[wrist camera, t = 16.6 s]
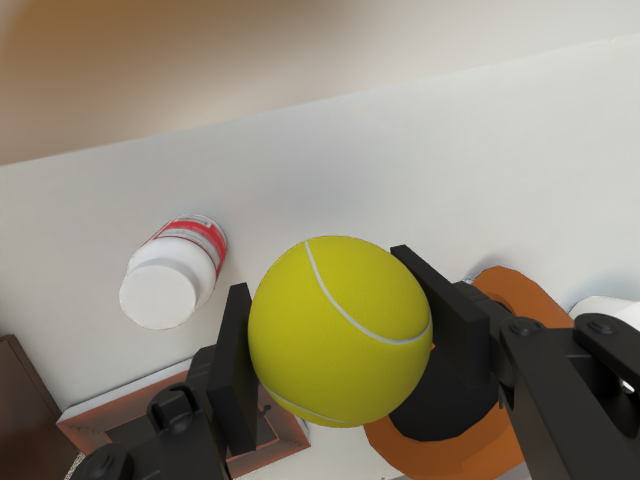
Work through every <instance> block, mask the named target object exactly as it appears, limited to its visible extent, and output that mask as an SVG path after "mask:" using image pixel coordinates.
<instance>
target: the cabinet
mask: <svg viewBox="0 0 640 480" xmlns="http://www.w3.org/2000/svg"><path fill="white" fill-rule="evenodd" d="M61 416H62V414H61V412H60V411H59V409H58V407H57V406H56V404H55V402H54V401H53V399H52V397H51V396H50V394H49V392H48V391H47V389H46V387H45V386H44V384H43V382H42V381H41V379H40V377H39V376H38V374H37V373H36V371H35V369H34V368H33V366H32V364H31V363H30V361H29V359H28V358H27V356H26V354H25V353H24V351H23V349H22V348H21V346H20V344H19V343H18V341H17V339H16V338H15V336H14V335H13V334H11V335H7V336H2V337H0V480H64V478H65V476H66V475H67V473H68V471H69V470H70V468H71V466H72V465H73V463H74V461H75V460H76V458H77V456H78V455H79V453H80V450H79V449H78V448H77V447H76V446H75V444H74V443H73V442H72V441H71V440H70V439H69V438H68V437H67V436H66V435H65V434H64V433H63V432H62V431H61V430H60V429H59V427H58V426H57V425H56V422H57V421H58V420H59V418H60V417H61Z"/></svg>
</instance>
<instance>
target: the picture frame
mask: <svg viewBox="0 0 640 480" xmlns="http://www.w3.org/2000/svg"><path fill="white" fill-rule="evenodd" d="M191 361H192V358H191V359H188V360H186V361H183V362H181V363H178V364H176V365H174V366H171V367H169V368H166V369H164V370H161V371H159V372H156V373H154V374H152V375H149V376H147V377H144V378H142V379H139V380H137V381H134V382H132V383H130V384H127V385H125V386H122V387H120V388H117V389H115V390H112V391H110V392H108V393H105V394H103V395H100V396H98V397H95V398H93V399H90V400H88V401H86V402H83V403H81V404H78V405H76V406H73V407H71V408H69V409H66V410H65V412H64V413H63V414H62V416H61V417H60V418H59V420H58V421H57V422H56V425H57V426H58V427H59V429H60V430H61V431H62V432H63V433H64V434H65V435H66V436H67V437H68V438H69V439H70V440H71V441H72V442H73V443H74V444H75V446H76V447H77V448H78V449H79V450H80V451H81V452H82V453H83V454H84V455H85V456H88V455H89V454H90V453H92V452H93V451H94V450H96V449H97V448H99V447H101V446H103V445H105V444H107V443H112V442H116V441H117V442H121V443H124V445H125V446H126V448H127V450H128V449H130V448H132V447H134V446H136V445H138V444H140V443H142V442H143V441H145V440H147V439H149V438H151V437H152V436H154V435H155V434H156V432H155V430H154V428H153V426H152V424H151V422H150V420H149V418H148V416H147V414H146V410H147V406H148V404H149V403H150V401H151V400H152V398H153V397H154V396H155V395H157V394H158V393H159V392H160V391H161V390H163V389H164V388H166V387H168V386H169V385H172V384H175V383H178V382H185V379H186V376H187V373H188V371H189V367H190V364H191ZM308 447H311V442H310V435H309V432H308V430H307V428H306V426H305V424H304V422H303V421H302V419H301V418H299V417H297V416H295V415H294V414H292V413H291V412H289V411H287V410H286V409H285V408H283V407H282V406H281V405H279V404H278V403H277V402H276V401H275V400H274V399H273V398H272V397H271V396H270V394H269V393H268V392H267V391H266V389H265V388H264V387H263V385H262V383H261V382H260V380H259V386H258V413H257V441H256V451H252V452H249V453H245V454H242V455H238V456H235V457H232V455H231V453H230V450H229V448H228V446H227V454H226V462H227V464H228V466H229V469H230V472H231V475H232V479H235V478H237V477H239V476H242V475H244V474H246V473H249V472H251V471H254V470H256V469H258V468H261V467H263V466H266V465H268V464H270V463H273V462H275V461H277V460H280V459H282V458H285V457H287V456H289V455H292V454H294V453H296V452H299V451H301V450H304V449H306V448H308Z"/></svg>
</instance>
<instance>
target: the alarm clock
mask: <svg viewBox="0 0 640 480" xmlns="http://www.w3.org/2000/svg"><path fill="white" fill-rule="evenodd" d="M465 282H466V283H468V284H471V285H474V286H475V287H477V288H478V289H479V290H480V291H482V292H483V294H486V295H487V296H488V297H490V299H492V300H494V301H495V302H496V303H498V304H499V305H500V306H502V307H503V308H504V309H506V310H507V311H508V312H510V313H511V314H512V315H513V316H523V317H528V318H532V319H535V320H537V321H539V322H541V323H543V324H544V325H545V326H546V327H547V328H569V327H574V320H573V319H572V318H571V317H570V316H569V315H568V314H567V313H566V312H565V311H564V310H563V309H562V308H561V307H560V306H559V305H558V304H557V303H556V302H555V301H554V300H553V299H552V298H551V297H550V296H549V295H548V294H547V293H546V292H545V291H544V290H543V289H542V288H541V287H540V286H539V285H538V284H537V283H535V282H534V281H532V280H530V279H529V278H527V277H526V276H524V275H523V274H521V273H519V272H518V271H515V270H511V269H508V268H505V267H501V266H495V267H492V268H489V269H487V270H484V271H483V272H482V273H481V274H480V275H479V276H478V277H477V278H476V279H475V280H474V281H472V280H469V279H467V280H466V281H465ZM363 427H364V429H365V432H366V435H367V438H368V440H369V443H370V445H371V446H372V447H373V448H374V449H375V450H376V451H377V452H378V453H379V454H380V455H381V456H382V457H383V458H384V459H385V460H386V461H387V462H388V463H389V464H390V465H391V466H393V467H394V468H396V469H397V470H399V471H401V472H402V473H404V474H405V475H407V476H408V477H410V478H412V479H413V480H532V478H531V476H530V473H529V470H528V468H527V465H526V462H525V459H524V457H523V454H522V451H521V449H520V446H519V443H518V440H517V438H516V435H515V432H514V430H513V427H512V424H511V421H510V419H509V416H508V413H507V411H506V408H505V405H504V402H503V409H499V379H498V378H497V377H496V376H495V375H494V374H493V373H492V371H491V370H490V384H489V385H486V386H482V387H479V388H475V389H472V390H469V389H468V388H467V387H466V385H465V384H464V383H463V382H462V380H461V379H460V378H459V376H458V375H457V374H456V372H455V371H454V370H453V369H452V367H451V366H450V365H449V363H448V362H447V361H446V359H445V358H444V357H443V356H442V354H441V353H440V352H439V350H438V349H437V348H436V347H435V345H434V344H433V343H432V346H431V351H430V355H429V359H428V362H427V365H426V368H425V370H424V372H423V375H422V377H421V378H420V380H419V382H418V384H417V386H416V387H415V388H414V390H413V391H412V393H411V394H410V395H409V396H408V397H407V398H406V399H405V400H404V401H403V402H402V403H401V404H400V405H399V406H398V407H397V408H396V409H394V410H393V411H392V412H390V413H389V414H387V415H386V416H384V417H383V418H381V419H378V420H376V421H373V422H370V423H365V424H364V425H363Z"/></svg>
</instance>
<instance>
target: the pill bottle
mask: <svg viewBox="0 0 640 480" xmlns="http://www.w3.org/2000/svg"><path fill="white" fill-rule="evenodd" d="M226 251H227V242H226V238H225V235H224V233H223V231H222V229H221V228H220V227H219V226H218V225H217V224H216V223H215V222H214V221H213V220H211V219H209V218H207V217H205V216H202V215H198V214H185V215H181V216H178V217H176V218H174V219H172V220H170V221H169V222H168V223H167V224H165V225H164V226H163V227H162V228H161V229H160V230H159V231H158V232H157V233H156V234H155V235H153V236H152V237H151V238H150V239H149V240H148V241H147V242H146V243H144V244H143V245H142V246H141V247H140V248H139V249H138V250H137V251H136V252H135V253H134V255H133V256H132V257H131V259H130V261H129V263H128V266H127V270H126V278H125V279H124V281H123V283H122V285H121V287H120V291H119V301H120V305H121V307H122V309H123V311H124V313H125V314H126V315H127V316H128V317H129V318H130V319H131V320H132V321H133V322H135V323H136V324H138V325H140V326H142V327H145V328H149V329H154V330H165V329H171V328H174V327H177V326H179V325H180V324H182V323H184V322H185V321H186V320H187V319H188V318H189V317H190V316H191V315H192V313H193V311H195V310H197V309H198V308H200V307H201V306H202V305H203V304H204V303H205V302H206V301H207V300H208V299H209V297H210V296H211V294H212V292H213V290H214V288H215V284H216V281H217V278H218V276H219V273H220V270H221V267H222V264H223V261H224V258H225V255H226Z"/></svg>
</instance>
